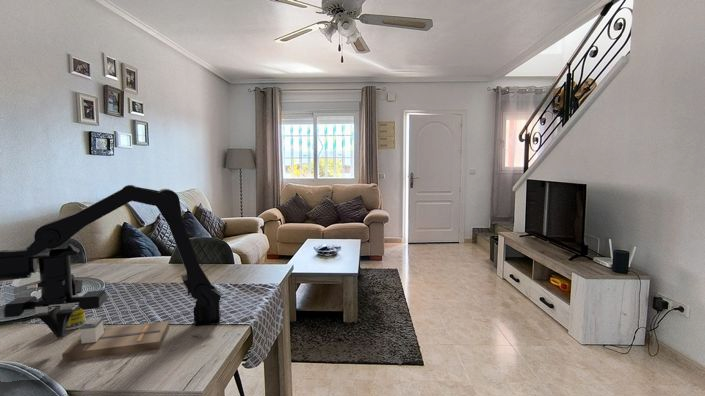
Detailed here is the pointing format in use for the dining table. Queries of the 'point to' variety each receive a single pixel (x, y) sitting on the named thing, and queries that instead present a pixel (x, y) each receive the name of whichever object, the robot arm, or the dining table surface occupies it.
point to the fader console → (119, 341)
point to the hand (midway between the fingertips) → (60, 337)
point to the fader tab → (91, 330)
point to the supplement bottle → (76, 317)
